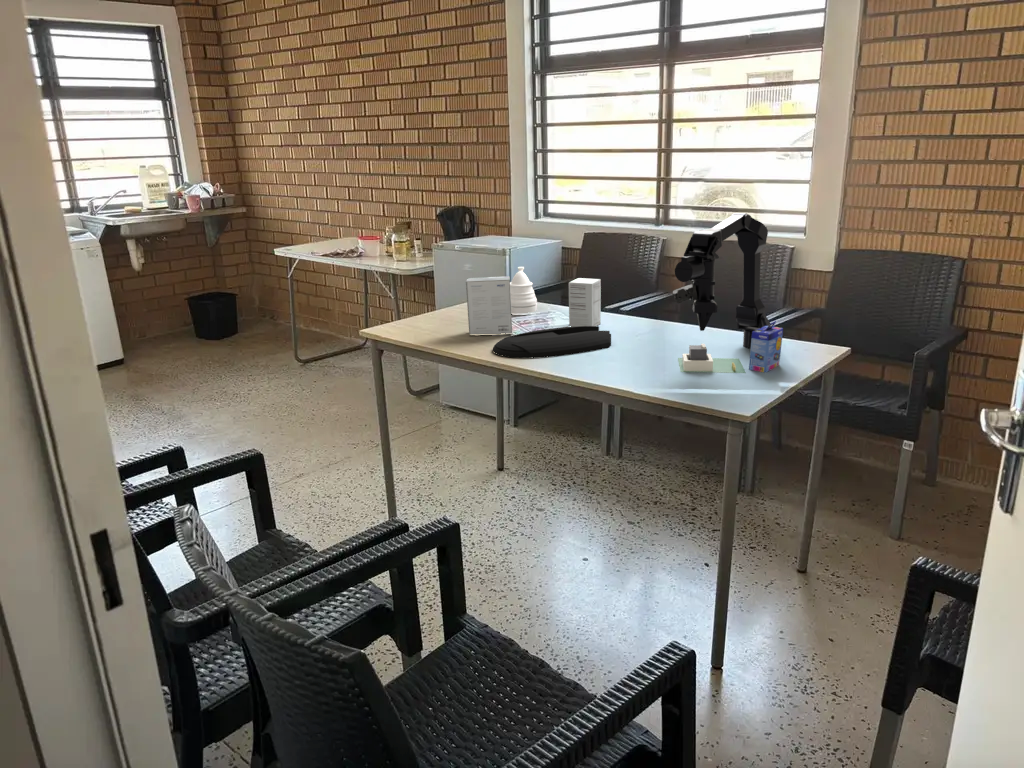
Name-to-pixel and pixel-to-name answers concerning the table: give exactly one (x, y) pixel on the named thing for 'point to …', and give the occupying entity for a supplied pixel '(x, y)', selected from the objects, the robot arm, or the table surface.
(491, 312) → the hard drive box
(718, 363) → the board
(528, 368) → the table surface
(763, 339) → the ink cartridge box
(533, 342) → the docking station
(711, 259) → the robot arm
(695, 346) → the plug
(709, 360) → the frame
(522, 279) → the honey pot
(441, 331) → the table surface
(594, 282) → the supplement box
